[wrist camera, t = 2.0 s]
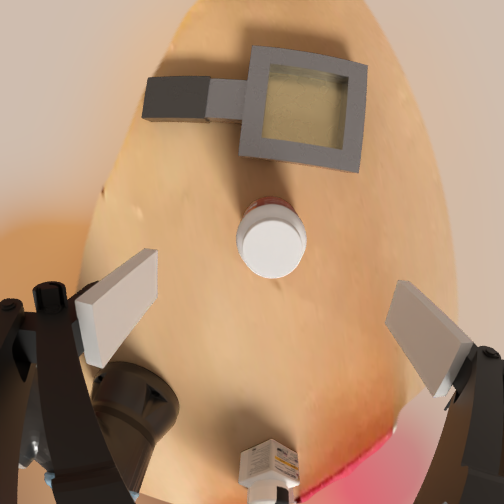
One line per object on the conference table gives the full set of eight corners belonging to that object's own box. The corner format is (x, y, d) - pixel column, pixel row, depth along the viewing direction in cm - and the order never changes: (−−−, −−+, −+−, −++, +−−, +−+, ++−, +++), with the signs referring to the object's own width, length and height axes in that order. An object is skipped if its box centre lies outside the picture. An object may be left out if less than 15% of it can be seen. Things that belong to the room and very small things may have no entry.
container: (298, 453, 44) (302, 508, 32) (267, 466, 46) (266, 518, 33) (271, 437, 43) (271, 497, 30) (240, 451, 44) (234, 507, 32)
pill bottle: (249, 190, 32) (240, 200, 21) (303, 202, 32) (321, 219, 21) (237, 243, 33) (224, 278, 23) (289, 254, 34) (300, 294, 23)
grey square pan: (148, 151, 31) (134, 149, 27) (162, 58, 27) (150, 46, 24) (347, 172, 31) (358, 173, 27) (356, 75, 27) (367, 65, 23)
